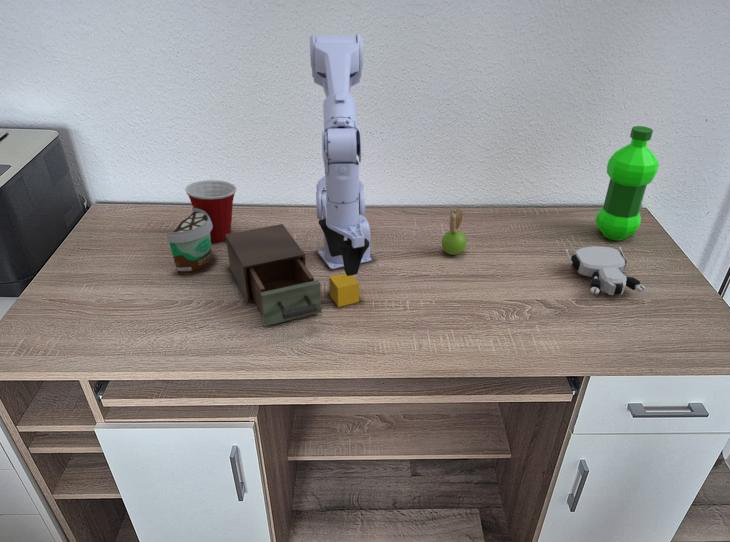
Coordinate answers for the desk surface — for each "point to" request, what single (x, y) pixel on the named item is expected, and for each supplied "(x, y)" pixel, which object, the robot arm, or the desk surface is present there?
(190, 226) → the food container
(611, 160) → the plastic bottle
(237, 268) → the cabinet
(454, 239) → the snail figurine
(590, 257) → the robot toy
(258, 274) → the drawer
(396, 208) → the desk surface
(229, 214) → the plastic cup
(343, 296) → the block
